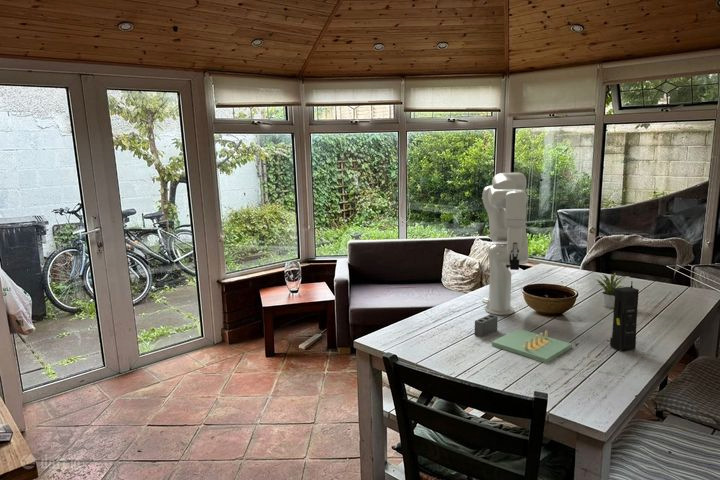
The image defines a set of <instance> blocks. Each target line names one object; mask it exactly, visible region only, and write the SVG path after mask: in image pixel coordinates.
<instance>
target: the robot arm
mask: <svg viewBox="0 0 720 480" xmlns="http://www.w3.org/2000/svg"><path fill="white" fill-rule="evenodd" d="M526 177H527V176H525V174H523V173H522V172H500V173H497V174H495V175H494V176H493V177H492V180H491V184H492V185H488V186H485V187H484V188H483V189H482V190H483V191H482V202H483V207H484V209H485V211H486V214H487V216H488V225H489V235H490V239H491V241H492V242H493V243H494V244H491V245H490V246H489V247H488V250H487V253H488V254H487V255H488V256H487V257H488V265H489V290H488V291H489V293H488V297H489V298H486V297H484V298H483V300H482V304H486V306H485V311H486V312H487V313H489V314H491V315H496V316H498V315H499V316H500V315H501V316H505V315H511V314H513V313H514V311H515V309H514V308H513V307H512V306H511V300H512V299H511V298H512V296H511V295H512V294H511V293H512V273H511V271H515V270H516V271H519V269H520V265H521V266H522V265H526V264H527V263H528V261H529V257H530V251H529V244H528V235H527V230H526V227H527V224H526V223H527V222H526V221H527V219H526V218H527V203H528V194H527V193H526V189H527V178H526ZM507 265H508V266H509V268H508V267H507ZM510 270H511V271H510Z"/></svg>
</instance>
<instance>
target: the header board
mask: <svg viewBox="0 0 720 480" xmlns="http://www.w3.org/2000/svg"><path fill="white" fill-rule="evenodd" d="M548 333H549V332H548V330H546V329H545V331H544V333H543V332H540V333H535V332H531V331H527V330H524V329H521V328H516V329H514V330H513V331H511V332H509V333H507V334H505V335H503V336H501V337H499V338H496V339H494V340H492V341H491V346H493V347H496V348H498V349H502V350H505V351H507V352H511V353H514V354H517V355H519V356H523V357H527V358H528V359H529V358H530V359H533V360H536V361H538V362H540V363H541V362H542V363H545V364H547V363H549V362H551V361H553V360H554V359H555V358H557V357H559V356H560V355H561V354H562V355H563V354H564V353H565V352H567V351H569V350H570V349H572V347H573V345H572V343H570V342H566V341H563V340H559V339H557V338H553V337H548Z"/></svg>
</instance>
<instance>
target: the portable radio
mask: <svg viewBox="0 0 720 480" xmlns="http://www.w3.org/2000/svg"><path fill="white" fill-rule="evenodd" d="M633 283H634V281H630V284H631V285H630V286H623V287H620V288H617V287H616V288H614V294H613V295H614V296H615V303H614V308H613V319H612V331H611V332H612V333H611V337H610V339H609V340H610V341H609V345H610V347H612V348H614V349H616V350H618V351H620V352H626V351H631V350H635V349H637V343H636V340H637V324H638V322H637V321H638V320H637V319H638V305H639V294H640V293H639V292H640V291H639V289H638V288H634V287H633Z"/></svg>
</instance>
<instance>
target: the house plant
mask: <svg viewBox="0 0 720 480" xmlns="http://www.w3.org/2000/svg"><path fill="white" fill-rule="evenodd" d="M600 274H601V275H602V276H603V277H604V278H602V277H601V276H599V278H601V280H602V281H603V282H602V281H601V280H600V279H597V278H594V279H595V280H596V282H597V283H598V284H596V286H600V287H601V288H603V291H601V300H602V306H603V307H605V308H608V309H614V303H615V296H614V295H613V294H614V288H621V287H624V286H623V285H619V284H620V283H621V282H624V280H625V279H626V278H629V277H631V276H630V275H629V276H628V275H627V276H623V277H621V278H620V279H619V277H620V275H618V276H617V277H616V274H617V273H616V272H613V274H612V273H610V278H609V276H608V275H606V273H603V272H600ZM614 280H615V281H614Z"/></svg>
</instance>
